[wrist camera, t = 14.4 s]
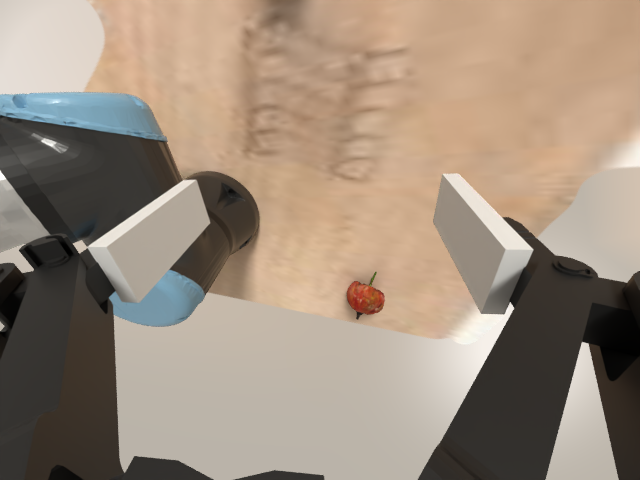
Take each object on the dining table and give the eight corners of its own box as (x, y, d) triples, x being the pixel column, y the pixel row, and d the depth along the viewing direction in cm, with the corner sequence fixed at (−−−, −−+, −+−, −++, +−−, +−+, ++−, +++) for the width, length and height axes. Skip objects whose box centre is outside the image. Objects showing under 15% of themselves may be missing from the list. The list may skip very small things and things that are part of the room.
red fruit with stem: (354, 261, 55) (331, 304, 54) (374, 267, 48) (348, 317, 47) (380, 276, 58) (358, 318, 57) (402, 285, 51) (378, 332, 50)
